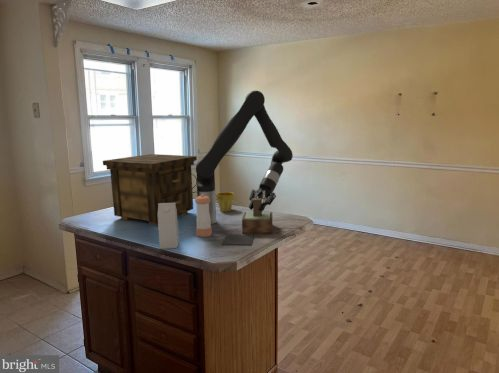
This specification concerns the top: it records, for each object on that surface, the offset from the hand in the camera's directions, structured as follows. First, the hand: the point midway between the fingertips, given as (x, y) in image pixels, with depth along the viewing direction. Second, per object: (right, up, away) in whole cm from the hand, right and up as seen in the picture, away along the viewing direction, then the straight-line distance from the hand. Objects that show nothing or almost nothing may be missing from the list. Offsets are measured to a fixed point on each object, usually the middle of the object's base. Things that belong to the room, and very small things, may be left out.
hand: (255, 209), depth 176 cm
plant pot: (-17, -3, +41) cm, 45 cm away
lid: (+1, -4, +2) cm, 5 cm away
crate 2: (+1, -10, +3) cm, 10 cm away
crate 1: (-56, -6, +30) cm, 64 cm away
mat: (-8, -13, -12) cm, 19 cm away
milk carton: (-37, -15, -17) cm, 44 cm away
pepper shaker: (-24, -12, -3) cm, 27 cm away
